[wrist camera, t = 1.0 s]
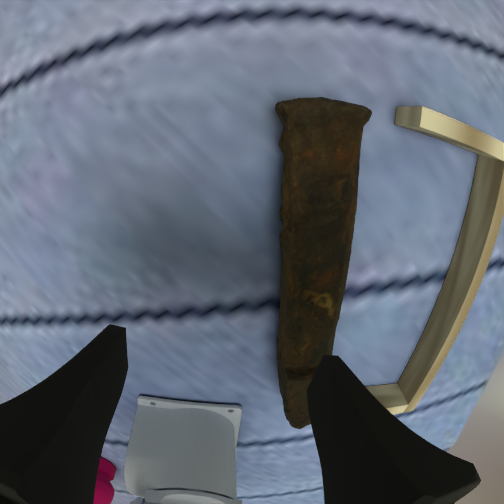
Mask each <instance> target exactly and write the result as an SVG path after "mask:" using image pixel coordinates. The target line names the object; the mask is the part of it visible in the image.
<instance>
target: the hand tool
mask: <svg viewBox="0 0 504 504" xmlns="http://www.w3.org/2000/svg"><path fill="white" fill-rule="evenodd" d="M275 111H276V113H277V114H278V116H279V118H280V120H281V122H282V123H283V125H284V130H283V133H282V136H281V139H280V142H279V145H280V149H281V150H282V152H283V154H284V165H283V183H282V186H281V197H282V205H281V209H280V220H281V221H283V228H282V232H281V234H280V245H281V253H282V261H281V298H280V312H279V337H278V338H277V360H278V374H279V375H278V377H279V386H280V393H281V395H282V398H283V405H284V412H285V416H286V419H287V420H288V421H289V423H290V425H291V426H292V427H294V428H297V429H301V428H303V427H305V426H307V425H310V424H311V421H310V417H309V412H308V403H307V391H306V390H307V388H308V386H309V384H310V382H311V380H312V378H313V376H314V374H315V372H316V369H317V367H318V365H319V363H320V361H321V359H322V357H323V355H332V351H333V343H334V338H335V330H336V325H337V323H338V320H339V315H340V310H341V304H342V300H343V295H344V290H345V285H346V280H347V273H348V267H349V261H350V255H351V245H352V238H353V231H354V222H355V214H356V207H357V192H358V176H359V159H360V148H361V140H362V133H363V126H364V125H365V124H366V123H367V122H368V121H369V119H370V117H371V115H372V111H371V110H370V109H368V108H367V107H364V106H362V105H357V104H352V103H348V102H343V101H338V100H332V99H327V98H323V97H318V98H298V99H293V100H287V101H281V102H278V103H277V104H276V106H275Z"/></svg>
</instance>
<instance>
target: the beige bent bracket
mask: <svg viewBox="0 0 504 504" xmlns="http://www.w3.org/2000/svg"><path fill="white" fill-rule="evenodd" d="M394 125H397V126H401V127H404V128H407V129H410V130H414V131H417V132H420V133H423V134H426V135H429V136H432V137H434V138H437V139H440V140H443V141H446V142H448V143H451V144H454V145H456V146H459V147H461V148H464V149H466V150H469V151H471V152H474V153H476V154H478V159H477V165H476V170H475V175H474V180H473V185H472V190H471V194H470V198H469V203H468V207H467V211H466V214H465V218H464V222H463V226H462V229H461V233H460V236H459V239H458V243H457V246H456V249H455V252H454V255H453V258H452V261H451V264H450V267H449V270H448V273H447V276H446V278H445V281H444V284H443V286H442V289H441V292H440V294H439V297H438V299H437V302H436V304H435V306H434V309H433V311H432V314H431V316H430V318H429V320H428V323H427V325H426V327H425V329H424V332H423V334H422V336H421V338H420V340H419V342H418V344H417V346H416V348H415V350H414V352H413V354H412V356H411V358H410V360H409V362H408V364H407V366H406V368H405V370H404V372H403V374H402V375H401V377H400V379H399V381H398V383H395V384H386V385H377V386H367V387H366V388H367V389H368V390H369V391H370V392H371V394H372V395H373V396H374V397H375V398H376V399H377V400H378V401H379V402H380V403H381V404H382V405H383V406H384V407H385V408H386V409H387V410H388V411H389V412H390V413H391V414H398V413H403V412H409V411H413V410H414V408H415V407H416V405H417V404H418V402H419V401H420V399H421V398H422V396H423V395H424V393H425V392H426V390H427V388H428V387H429V385H430V384H431V382H432V380H433V379H434V377H435V375H436V374H437V372H438V370H439V369H440V367H441V365H442V363H443V362H444V360H445V358H446V356H447V354H448V353H449V351H450V349H451V347H452V345H453V343H454V341H455V339H456V337H457V335H458V333H459V331H460V329H461V327H462V325H463V323H464V321H465V319H466V317H467V315H468V312H469V310H470V308H471V306H472V304H473V301H474V299H475V297H476V294H477V292H478V289H479V287H480V284H481V282H482V279H483V277H484V274H485V271H486V268H487V266H488V263H489V260H490V257H491V254H492V251H493V248H494V245H495V242H496V239H497V235H498V232H499V229H500V225H501V222H502V218H503V214H504V143H503V142H501V141H499V140H497V139H495V138H493V137H491V136H489V135H487V134H485V133H483V132H481V131H479V130H477V129H475V128H473V127H471V126H469V125H466V124H464V123H462V122H460V121H457V120H455V119H453V118H451V117H448V116H446V115H443V114H441V113H438V112H436V111H433V110H431V109H428V108H426V107H423V106H409V107H397V108H396V116H395V124H394Z"/></svg>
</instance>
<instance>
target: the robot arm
mask: <svg viewBox="0 0 504 504" xmlns="http://www.w3.org/2000/svg"><path fill="white" fill-rule="evenodd" d="M127 370H128V358H127V343H126V328H124V327H119V326H115V325H108V326H107V327H106V328H105V329H104V330H103V331H102V332H101V333H100V334H98V335H97V336H96V337H95V338H94V339H93V340H92V341H91V342H90V343H89V344H88V345H87V346H86V347H84V348H83V349H82V350H81V351H80V352H79V353H78V354H76V355H75V356H74V357H73V358H72V359H71V360H70V361H68V362H67V363H66V364H65V365H63V366H62V367H61V368H60V369H58V370H57V371H56V372H54V373H53V374H52V375H50V376H49V377H48V378H46V379H45V380H43V381H42V382H40V383H39V384H37V385H36V386H34V387H33V388H31V389H29V390H28V391H26V392H24V393H22V394H21V395H19V396H17V397H15V398H13V399H11V400H9V401H7V402H5V403H2V404H0V504H93V503H94V494H95V486H96V480H97V474H98V468H99V462H100V457H101V453H102V448H103V444H104V441H105V437H106V435H107V432H108V429H109V426H110V423H111V421H112V418H113V415H114V412H115V410H116V407H117V404H118V402H119V399H120V396H121V393H122V391H123V387H124V383H125V379H126V375H127ZM306 391H307V403H308V412H309V417H310V421H311V425H312V430H313V434H314V438H315V442H316V446H317V450H318V454H319V458H320V463H321V468H322V477H323V486H324V501H325V504H454V503H455V502H456V501H458V500H459V499H461V498H462V497H464V496H465V495H466V494H468V493H469V492H470V491H472V490H473V489H474V488H476V487H477V486H478V485H479V483H480V481H481V479H480V477H479V475H478V473H477V470H476V469H475V466H474V464H473V463H470V462H468V461H465V460H463V459H460V458H458V457H455V456H453V455H451V454H449V453H447V452H445V451H443V450H441V449H439V448H438V447H436V446H434V445H433V444H431V443H429V442H428V441H426V440H425V439H423V438H422V437H420V436H419V435H417V434H416V433H414V432H413V431H412V430H410V429H409V428H408V427H407V426H405V425H404V424H403V423H402V422H401V421H399V420H398V419H397V418H396V417H395V416H394V415H392V414H391V413H390V412H389V411H388V410H387V409H386V408H385V407H384V406H383V405H382V404H381V403H380V402H379V401H378V400H377V399H376V398H375V397H374V396H373V395H372V394H371V392H370V391H369V390H368V389H367V388H366V387H365V386H364V385H363V384H362V382H361V381H360V380H359V379H358V378H357V377H356V376H355V374H354V373H353V372H352V371H351V370H350V369H349V367H348V366H347V365H346V364H345V363H344V362H343V361H342V360H341V359H340V357H339V356H333V355H323V357H322V359H321V361H320V363H319V365H318V367H317V369H316V372H315V374H314V376H313V378H312V380H311V382H310V384H309V386H308V388H307V390H306ZM137 402H138V407H137V411H136V415H135V419H134V423H133V427H132V431H131V435H130V439H129V444H128V448H127V453H126V459H125V483H126V487H127V490H128V492H129V493H131V494H133V495H137V496H141V497H144V498H141V497H137V498H136V499H135V500H133V501H132V502H130V504H242V500H237V489H236V460H235V448H236V445H237V439H238V433H239V427H240V421H241V415H242V407H241V406H239V405H224V404H209V403H197V402H186V401H177V400H169V399H161V398H153V397H147V396H139V397H138V399H137Z"/></svg>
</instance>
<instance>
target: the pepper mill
mask: <svg viewBox="0 0 504 504" xmlns="http://www.w3.org/2000/svg"><path fill="white" fill-rule="evenodd" d="M115 471H116V469H115V466H114V465H113V464H112V463H110V462H109V461H107V460H106V459H104V458H102V457H100V462H99V468H98V474H97V480H96V486H95V494H94V503H93V504H110V503H111V502H112V500H113V496H114V488H113V486H112V484H111V483H110V481H111V480H113V479H114V476H115Z"/></svg>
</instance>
